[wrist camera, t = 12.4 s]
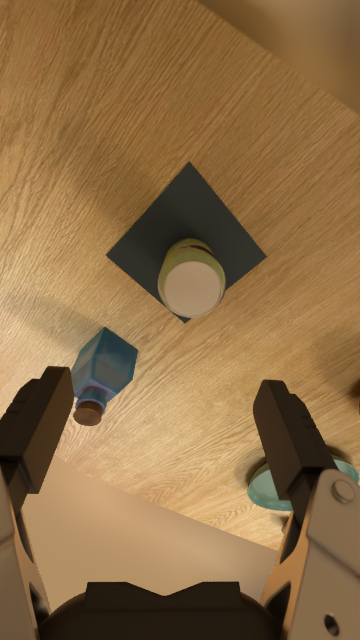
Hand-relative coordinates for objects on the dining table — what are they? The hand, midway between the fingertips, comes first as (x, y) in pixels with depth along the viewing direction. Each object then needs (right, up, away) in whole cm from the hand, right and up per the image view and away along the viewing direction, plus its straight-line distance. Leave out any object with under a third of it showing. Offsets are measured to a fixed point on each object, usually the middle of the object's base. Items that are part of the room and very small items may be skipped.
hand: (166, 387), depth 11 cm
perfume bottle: (-10, -2, +29) cm, 31 cm away
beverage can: (+2, +11, +21) cm, 24 cm away
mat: (+1, +11, +21) cm, 24 cm away
